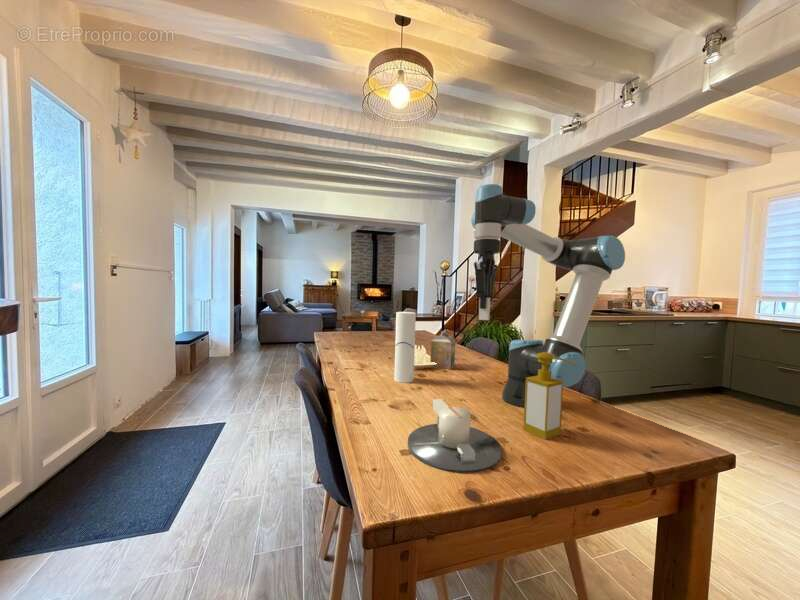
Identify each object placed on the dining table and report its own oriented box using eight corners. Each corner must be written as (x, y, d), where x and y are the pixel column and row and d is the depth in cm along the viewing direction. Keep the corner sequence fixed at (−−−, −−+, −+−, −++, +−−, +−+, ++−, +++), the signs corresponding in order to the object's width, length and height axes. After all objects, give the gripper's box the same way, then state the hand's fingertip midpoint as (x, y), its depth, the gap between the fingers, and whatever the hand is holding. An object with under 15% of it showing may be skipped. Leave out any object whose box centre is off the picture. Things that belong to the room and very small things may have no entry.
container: (411, 383, 140) (414, 313, 139) (392, 381, 142) (394, 312, 141) (414, 378, 149) (417, 312, 147) (396, 376, 150) (398, 311, 149)
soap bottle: (564, 448, 86) (568, 359, 85) (523, 429, 97) (527, 351, 96) (579, 442, 90) (583, 357, 89) (538, 425, 101) (542, 349, 100)
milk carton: (450, 370, 165) (451, 332, 165) (430, 367, 169) (431, 331, 168) (454, 365, 175) (455, 330, 174) (435, 363, 179) (436, 328, 178)
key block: (483, 456, 78) (485, 424, 78) (452, 459, 76) (454, 426, 76) (448, 420, 99) (449, 394, 99) (423, 421, 97) (424, 395, 97)
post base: (478, 425, 99) (478, 413, 99) (520, 468, 76) (521, 453, 76) (400, 428, 95) (400, 415, 95) (419, 475, 72) (419, 459, 72)
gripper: (482, 243, 104) (480, 317, 105) (466, 237, 93) (463, 320, 94) (506, 241, 99) (503, 319, 100) (491, 235, 89) (488, 322, 90)
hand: (484, 319), depth 97 cm, fingers closed
